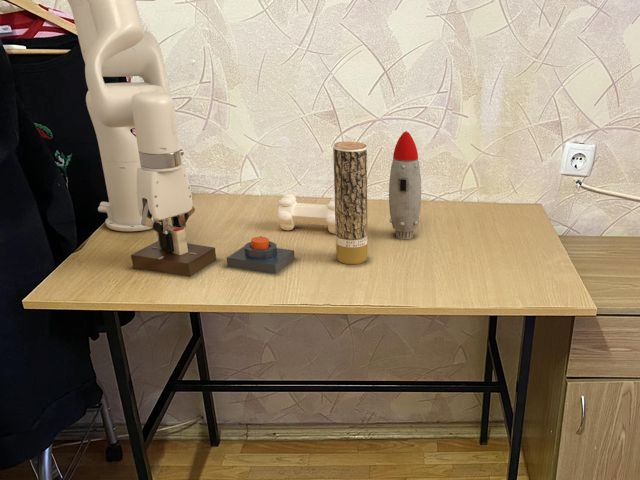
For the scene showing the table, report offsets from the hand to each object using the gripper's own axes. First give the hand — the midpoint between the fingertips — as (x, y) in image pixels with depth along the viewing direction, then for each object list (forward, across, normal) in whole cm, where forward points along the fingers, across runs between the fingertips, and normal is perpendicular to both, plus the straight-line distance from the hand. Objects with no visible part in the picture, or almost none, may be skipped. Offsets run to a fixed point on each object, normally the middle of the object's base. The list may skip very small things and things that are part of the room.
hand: (173, 247), depth 148 cm
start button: (0, -11, +14) cm, 17 cm away
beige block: (+1, 0, 0) cm, 1 cm away
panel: (+4, 0, 0) cm, 4 cm away
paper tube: (+4, -24, +28) cm, 37 cm away
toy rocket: (+4, -44, +28) cm, 53 cm away
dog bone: (+4, -34, +8) cm, 36 cm away
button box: (+4, -11, +14) cm, 18 cm away
